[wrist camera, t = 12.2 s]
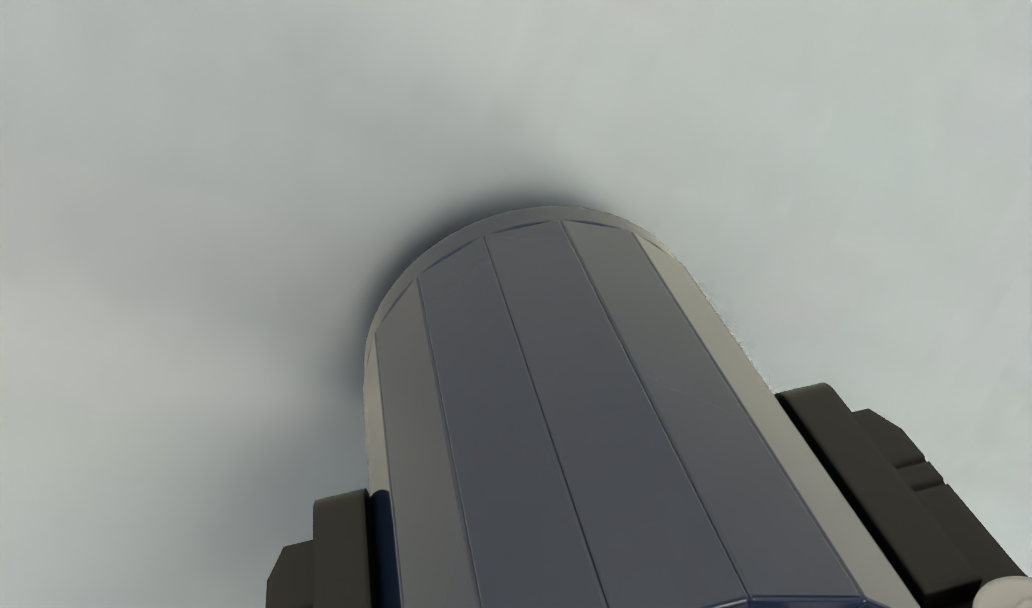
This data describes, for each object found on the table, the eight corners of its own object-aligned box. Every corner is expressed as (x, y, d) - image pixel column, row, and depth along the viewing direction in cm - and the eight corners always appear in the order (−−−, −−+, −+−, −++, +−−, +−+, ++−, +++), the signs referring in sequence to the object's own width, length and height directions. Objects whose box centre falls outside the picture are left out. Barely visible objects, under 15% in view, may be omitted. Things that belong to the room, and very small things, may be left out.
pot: (695, 170, 13) (1010, 531, 7) (695, 436, 17) (908, 831, 11) (323, 247, 13) (332, 706, 7) (402, 506, 16) (454, 963, 10)
